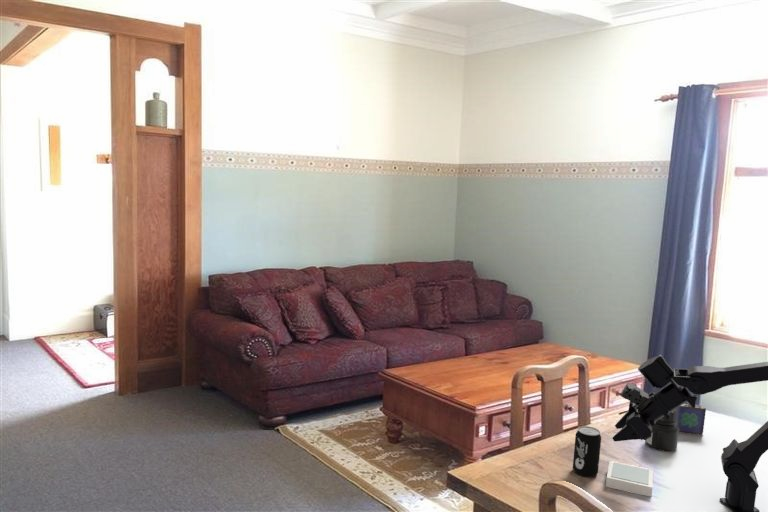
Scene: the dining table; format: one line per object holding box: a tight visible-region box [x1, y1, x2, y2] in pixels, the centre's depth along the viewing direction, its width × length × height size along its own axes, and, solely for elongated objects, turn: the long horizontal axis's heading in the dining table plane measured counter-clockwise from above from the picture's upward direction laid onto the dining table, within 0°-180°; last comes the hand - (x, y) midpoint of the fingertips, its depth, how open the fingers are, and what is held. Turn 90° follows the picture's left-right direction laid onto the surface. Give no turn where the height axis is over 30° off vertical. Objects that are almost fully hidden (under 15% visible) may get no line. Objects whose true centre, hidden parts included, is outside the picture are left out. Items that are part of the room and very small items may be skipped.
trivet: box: [605, 460, 654, 498], centre depth 168 cm, size 11×11×3 cm
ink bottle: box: [644, 409, 679, 453], centre depth 192 cm, size 10×9×12 cm
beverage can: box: [572, 425, 602, 478], centre depth 172 cm, size 7×7×12 cm
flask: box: [675, 402, 707, 436], centre depth 204 cm, size 9×3×11 cm, turn 76°
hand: (614, 433), depth 168 cm, fingers open, 9 cm apart
